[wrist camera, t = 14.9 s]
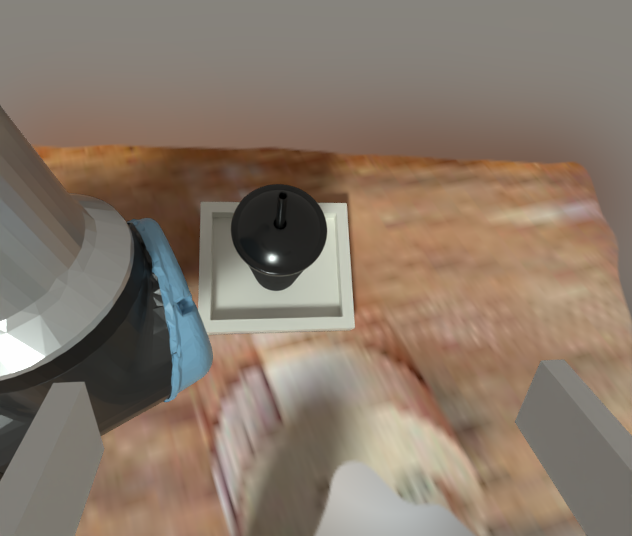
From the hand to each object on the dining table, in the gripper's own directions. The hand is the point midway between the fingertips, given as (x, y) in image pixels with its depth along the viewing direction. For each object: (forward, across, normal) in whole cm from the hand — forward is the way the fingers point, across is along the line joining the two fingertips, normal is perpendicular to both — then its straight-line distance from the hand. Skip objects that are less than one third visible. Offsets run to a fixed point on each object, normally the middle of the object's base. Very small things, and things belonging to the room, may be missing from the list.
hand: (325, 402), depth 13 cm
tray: (+33, 0, -15) cm, 36 cm away
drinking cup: (+32, 0, -15) cm, 35 cm away
